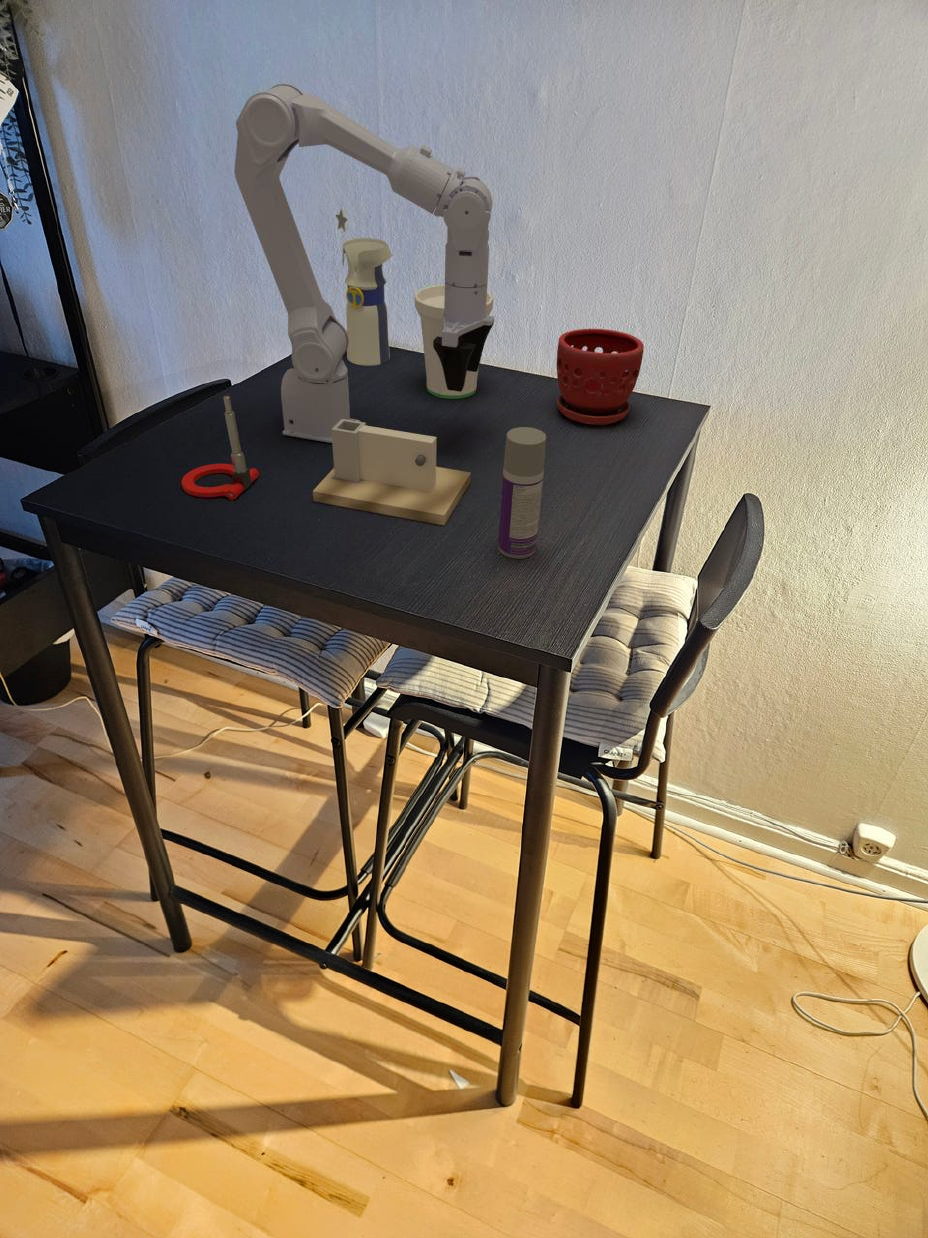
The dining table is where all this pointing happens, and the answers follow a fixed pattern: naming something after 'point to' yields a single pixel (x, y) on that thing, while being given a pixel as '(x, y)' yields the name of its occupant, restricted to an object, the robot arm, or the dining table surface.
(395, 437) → the door
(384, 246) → the cream spray bottle
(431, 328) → the cup
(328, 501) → the base board
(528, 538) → the container
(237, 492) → the tow hook
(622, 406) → the plant pot
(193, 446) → the dining table surface
